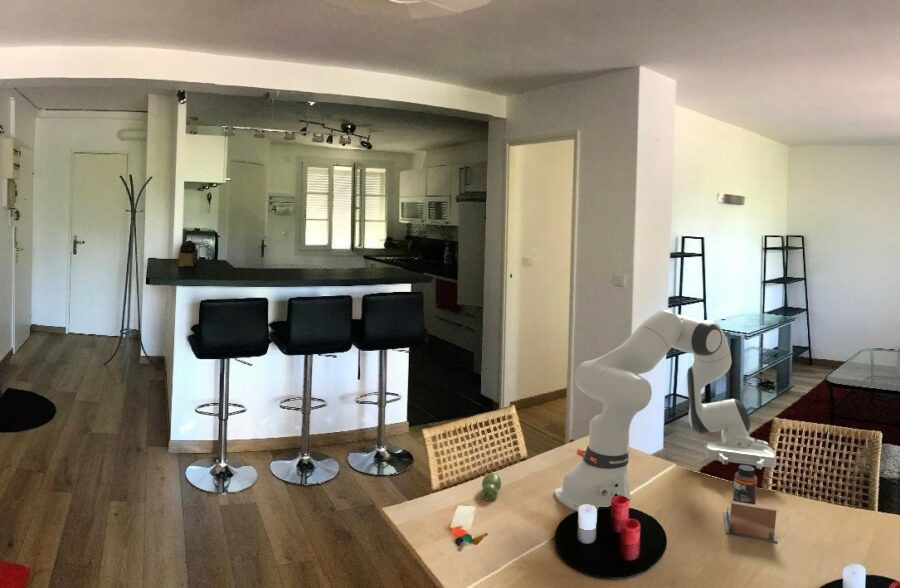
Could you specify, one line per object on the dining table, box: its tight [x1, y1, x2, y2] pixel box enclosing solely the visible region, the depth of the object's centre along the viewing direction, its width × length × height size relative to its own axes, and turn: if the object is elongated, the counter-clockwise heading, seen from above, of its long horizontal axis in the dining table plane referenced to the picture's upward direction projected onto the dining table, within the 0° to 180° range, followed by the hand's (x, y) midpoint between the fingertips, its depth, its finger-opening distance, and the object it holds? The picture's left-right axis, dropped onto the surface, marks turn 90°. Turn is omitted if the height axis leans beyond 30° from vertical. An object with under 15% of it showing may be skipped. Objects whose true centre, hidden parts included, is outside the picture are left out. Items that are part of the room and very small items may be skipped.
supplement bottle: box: [732, 464, 758, 505], centre depth 177 cm, size 6×6×11 cm
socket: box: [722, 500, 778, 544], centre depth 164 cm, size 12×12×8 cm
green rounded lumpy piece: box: [481, 472, 502, 501], centre depth 181 cm, size 6×5×10 cm
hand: (742, 464), depth 188 cm, fingers open, 8 cm apart
